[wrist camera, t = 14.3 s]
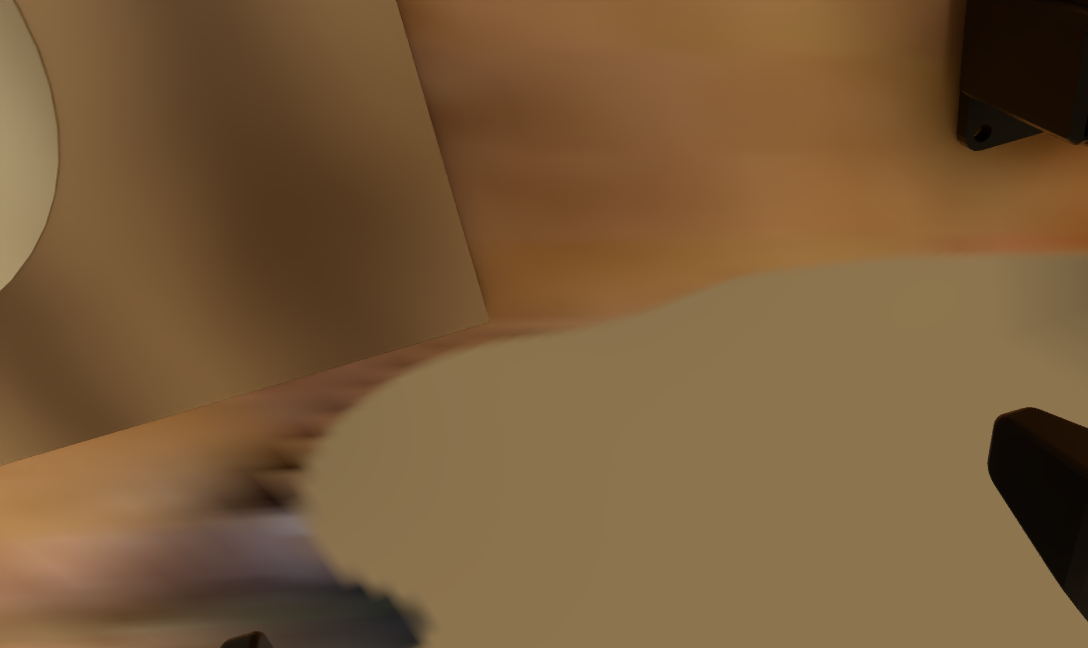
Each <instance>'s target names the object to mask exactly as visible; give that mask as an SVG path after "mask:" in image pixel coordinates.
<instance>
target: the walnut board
mask: <svg viewBox="0 0 1088 648" xmlns="http://www.w3.org/2000/svg"><path fill="white" fill-rule="evenodd" d="M489 322H490V321H489V317H488V314H487V310H486V307H485V303H484V300H483V297H482V293H481V290H480V286H479V283H478V279H477V276H476V273H475V269H474V266H473V262H472V259H471V255H470V252H469V249H468V245H467V242H466V238H465V235H464V231H463V228H462V225H461V221H460V218H459V214H458V211H457V207H456V204H455V201H454V197H453V194H452V190H451V187H450V183H449V180H448V177H447V173H446V170H445V166H444V163H443V159H442V156H441V153H440V149H439V146H438V142H437V139H436V135H435V132H434V129H433V125H432V122H431V118H430V115H429V111H428V108H427V105H426V101H425V98H424V94H423V91H422V87H421V84H420V81H419V77H418V74H417V70H416V67H415V64H414V60H413V57H412V53H411V50H410V46H409V43H408V40H407V36H406V33H405V29H404V26H403V22H402V19H401V16H400V12H399V9H398V5H397V2H396V0H0V466H1V465H5V464H8V463H11V462H15V461H18V460H22V459H25V458H28V457H32V456H35V455H39V454H42V453H46V452H49V451H52V450H56V449H59V448H63V447H66V446H69V445H73V444H76V443H80V442H83V441H86V440H90V439H93V438H97V437H100V436H104V435H107V434H110V433H114V432H117V431H121V430H124V429H127V428H131V427H134V426H138V425H141V424H144V423H148V422H151V421H155V420H158V419H162V418H165V417H168V416H172V415H175V414H179V413H182V412H185V411H189V410H192V409H196V408H199V407H202V406H206V405H209V404H213V403H216V402H220V401H223V400H226V399H230V398H233V397H237V396H240V395H243V394H247V393H250V392H254V391H257V390H260V389H264V388H267V387H271V386H274V385H278V384H281V383H284V382H288V381H291V380H295V379H298V378H301V377H305V376H308V375H312V374H315V373H318V372H322V371H325V370H329V369H332V368H336V367H339V366H342V365H346V364H349V363H353V362H356V361H359V360H363V359H366V358H370V357H373V356H376V355H380V354H383V353H387V352H390V351H394V350H397V349H400V348H404V347H407V346H411V345H414V344H417V343H421V342H424V341H428V340H431V339H434V338H438V337H441V336H445V335H448V334H452V333H455V332H458V331H462V330H465V329H469V328H472V327H475V326H479V325H482V324H486V323H489Z"/></svg>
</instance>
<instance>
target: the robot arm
mask: <svg viewBox="0 0 1088 648" xmlns="http://www.w3.org/2000/svg"><path fill="white" fill-rule="evenodd" d="M980 126H982V128H981V131H980V132H979V133H978V134H977V135H976V136H974V135H975V132H976V130H977V129H978V128H979V127H980ZM1042 132H1046V133H1048V134H1050V135H1052V136H1055V137H1057V138H1059V139H1061V140H1063V141H1065V142H1068V143H1070V144H1073V145H1078V144H1083V145H1085V146H1088V0H967V6H966V17H965V29H964V40H963V52H962V63H961V75H960V101H959V113H958V124H957V140H958V141H959V142H960V144H962V145H964V146H965V147H967V148H969V149H971V150H974V151H979V150H984V149H987V148H991V147H994V146H998V145H1001V144H1004V143H1008V142H1011V141H1015V140H1018V139H1022V138H1025V137H1029V136H1032V135H1035V134H1039V133H1042ZM987 464H988V471H989V475H990V477H991V480H992V481H993V483H994V485H995V487H996V488H997V490H998V491H999V493H1000V494H1001V496H1002V497H1003V499H1004V501H1005V502H1006V504H1007V505H1008V507H1009V508H1010V510H1011V511H1012V513H1013V514H1014V516H1015V518H1016V519H1017V521H1018V522H1019V524H1020V525H1021V527H1022V528H1023V530H1024V532H1025V533H1026V534H1027V536H1028V538H1029V539H1030V541H1031V542H1032V544H1033V546H1034V547H1035V548H1036V550H1037V552H1038V553H1039V555H1040V556H1041V558H1042V559H1043V561H1044V562H1045V564H1046V566H1047V567H1048V569H1049V570H1050V572H1051V573H1052V574H1053V576H1054V578H1055V579H1056V581H1057V582H1058V583H1059V585H1060V586H1061V588H1062V589H1063V591H1064V592H1065V593H1066V595H1067V596H1068V597H1069V598H1070V600H1071V601H1072V602H1073V604H1074V605H1075V606H1076V608H1077V609H1078V610H1079V611H1080V613H1081V614H1082V615H1083V616H1084V618H1085V619H1086V620H1087V621H1088V428H1086V427H1084V426H1081V425H1078V424H1076V423H1073V422H1071V421H1068V420H1065V419H1063V418H1061V417H1058V416H1055V415H1053V414H1050V413H1048V412H1045V411H1043V410H1040V409H1036V408H1032V407H1026V408H1021V409H1018V410H1014V411H1011V412H1008V413H1004V414H1001V415H1000V416H998V417H997V419H996V420H995V422H994V426H993V431H992V438H991V443H990V449H989V455H988V463H987ZM220 648H274V647H273V646H272V644H271V643H270V641H269V639H268V638H267V636H266V635H265V634H264V633H262V632H260V631H254V632H251V633H248V634H244V635H241V636H237V637H234V638H231V639H228V640H227V641H225V642H224V643H223V644H222V646H221V647H220Z"/></svg>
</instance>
